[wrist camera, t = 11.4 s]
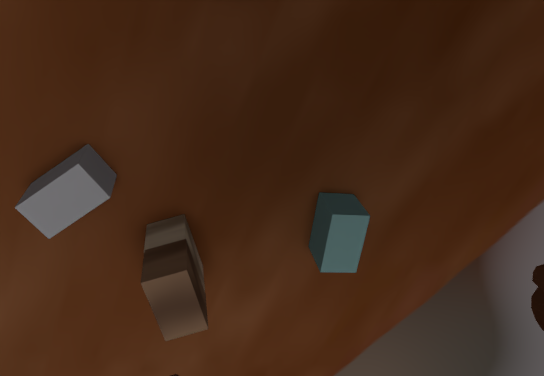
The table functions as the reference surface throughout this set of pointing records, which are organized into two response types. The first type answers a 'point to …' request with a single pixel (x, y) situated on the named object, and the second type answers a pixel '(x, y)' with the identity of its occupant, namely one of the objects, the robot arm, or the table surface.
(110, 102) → the table surface
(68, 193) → the grey block
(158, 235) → the maple block
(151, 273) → the walnut block
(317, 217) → the teal block
